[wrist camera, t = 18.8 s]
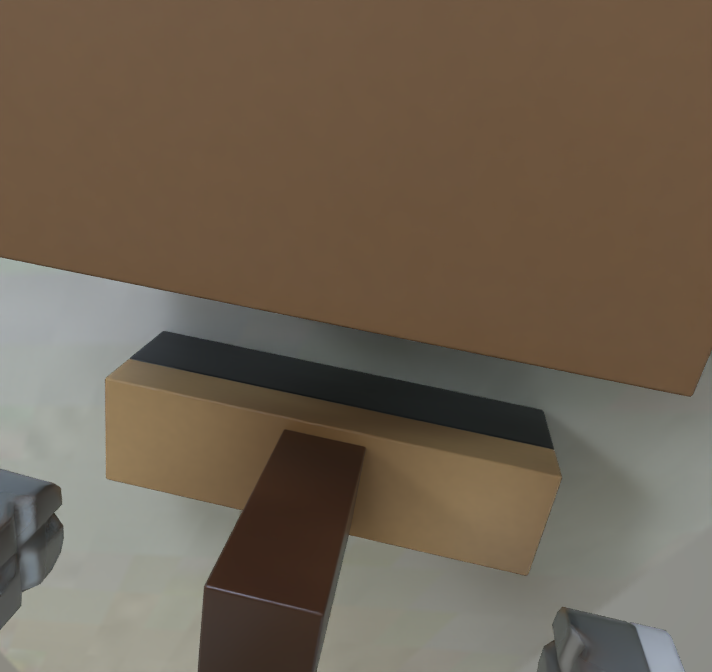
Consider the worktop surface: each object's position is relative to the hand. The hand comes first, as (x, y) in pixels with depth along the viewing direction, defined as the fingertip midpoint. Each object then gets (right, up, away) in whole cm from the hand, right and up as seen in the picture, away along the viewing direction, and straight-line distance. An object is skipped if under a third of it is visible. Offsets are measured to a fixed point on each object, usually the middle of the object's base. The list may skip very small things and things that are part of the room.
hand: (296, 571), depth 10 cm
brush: (+1, +1, +8) cm, 8 cm away
